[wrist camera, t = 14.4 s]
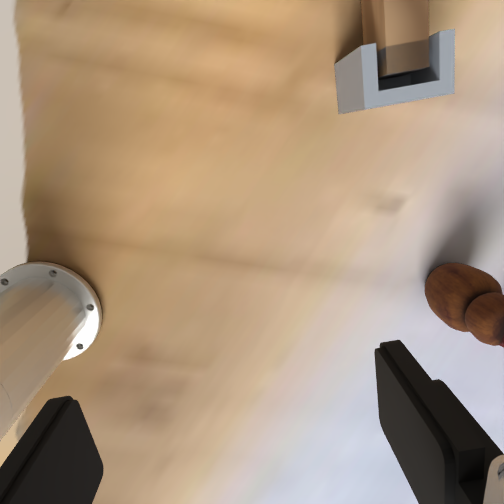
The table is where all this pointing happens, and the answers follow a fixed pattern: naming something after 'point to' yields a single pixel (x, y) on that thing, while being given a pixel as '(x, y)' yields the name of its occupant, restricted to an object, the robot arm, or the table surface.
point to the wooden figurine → (467, 301)
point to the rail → (397, 35)
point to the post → (399, 88)
